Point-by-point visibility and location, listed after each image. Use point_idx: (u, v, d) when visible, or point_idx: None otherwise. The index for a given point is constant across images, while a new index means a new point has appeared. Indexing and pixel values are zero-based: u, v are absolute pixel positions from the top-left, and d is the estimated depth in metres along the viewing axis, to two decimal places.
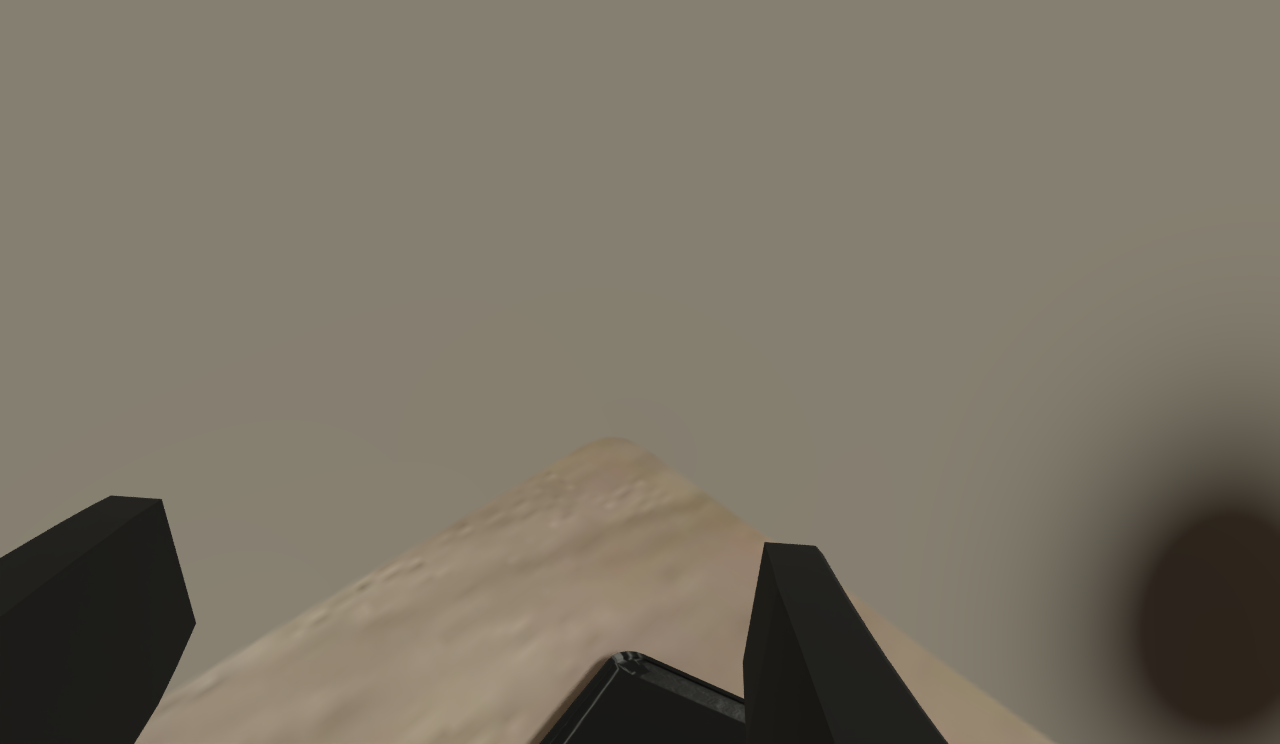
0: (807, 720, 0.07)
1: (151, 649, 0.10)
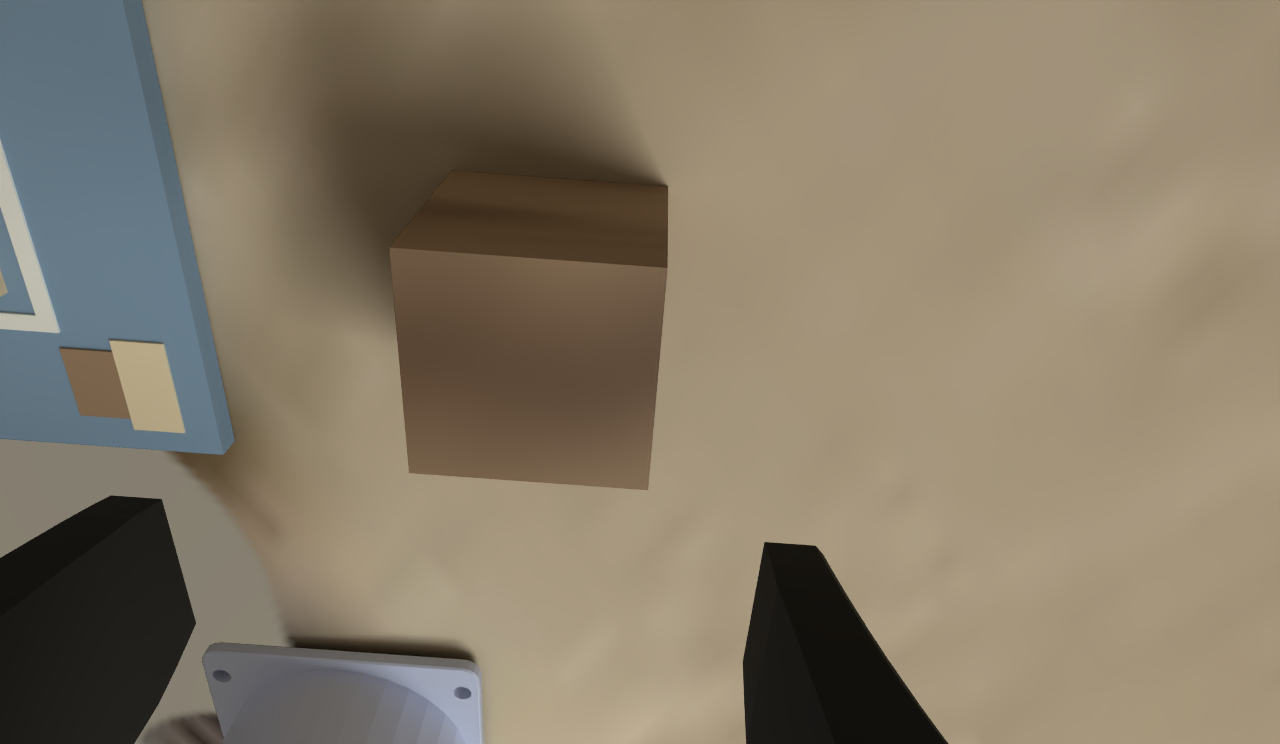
0: (808, 720, 0.07)
1: (151, 649, 0.10)
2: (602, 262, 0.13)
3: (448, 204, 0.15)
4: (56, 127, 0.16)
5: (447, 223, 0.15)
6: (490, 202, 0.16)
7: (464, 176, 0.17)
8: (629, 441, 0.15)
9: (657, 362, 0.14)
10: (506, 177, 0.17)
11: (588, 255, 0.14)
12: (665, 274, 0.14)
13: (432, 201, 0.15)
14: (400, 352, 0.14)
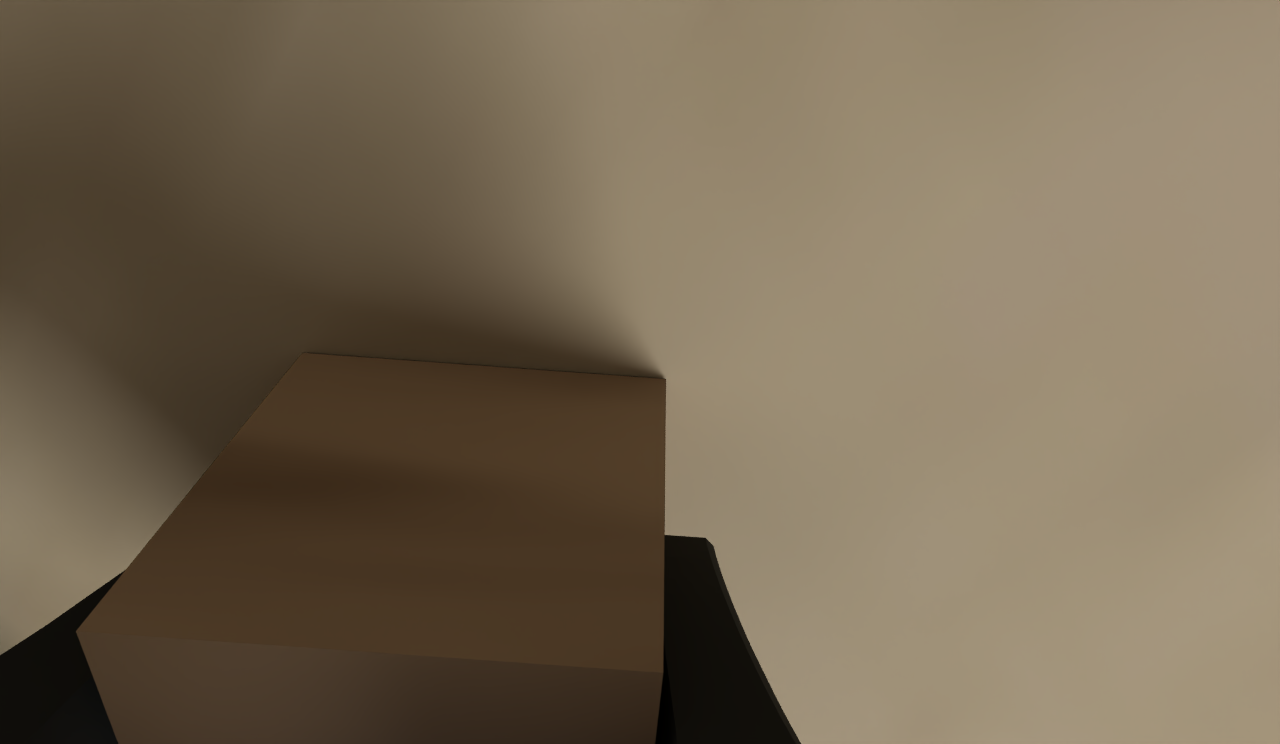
0: (665, 710, 0.07)
1: None
2: (526, 656, 0.06)
3: (260, 461, 0.08)
4: None
5: (235, 528, 0.07)
6: (341, 448, 0.09)
7: (317, 371, 0.10)
8: None
9: None
10: (390, 371, 0.10)
11: (501, 631, 0.07)
12: (659, 681, 0.06)
13: (232, 451, 0.08)
14: None
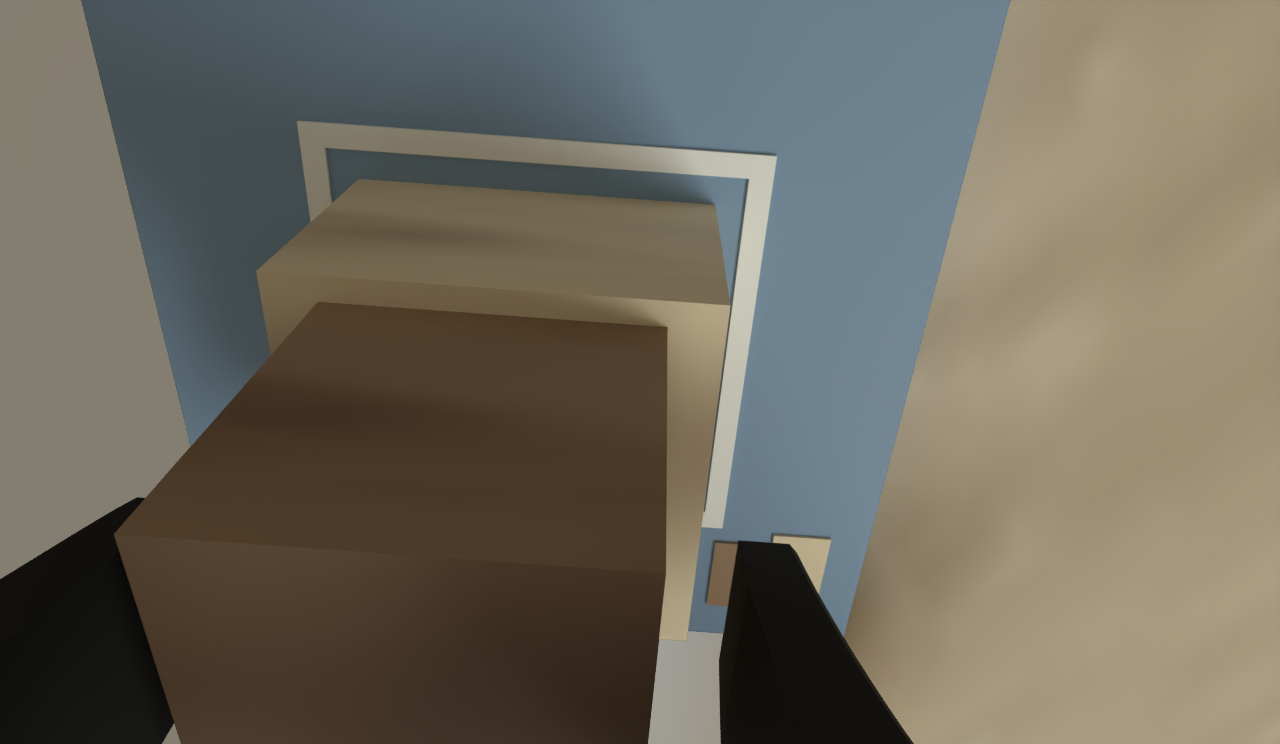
0: (773, 718, 0.07)
1: None
2: (537, 559, 0.07)
3: (280, 393, 0.09)
4: (817, 334, 0.15)
5: (260, 450, 0.08)
6: (358, 384, 0.09)
7: (332, 318, 0.10)
8: None
9: (647, 715, 0.08)
10: (402, 318, 0.10)
11: (513, 538, 0.07)
12: (662, 583, 0.07)
13: (254, 385, 0.09)
14: (169, 692, 0.08)
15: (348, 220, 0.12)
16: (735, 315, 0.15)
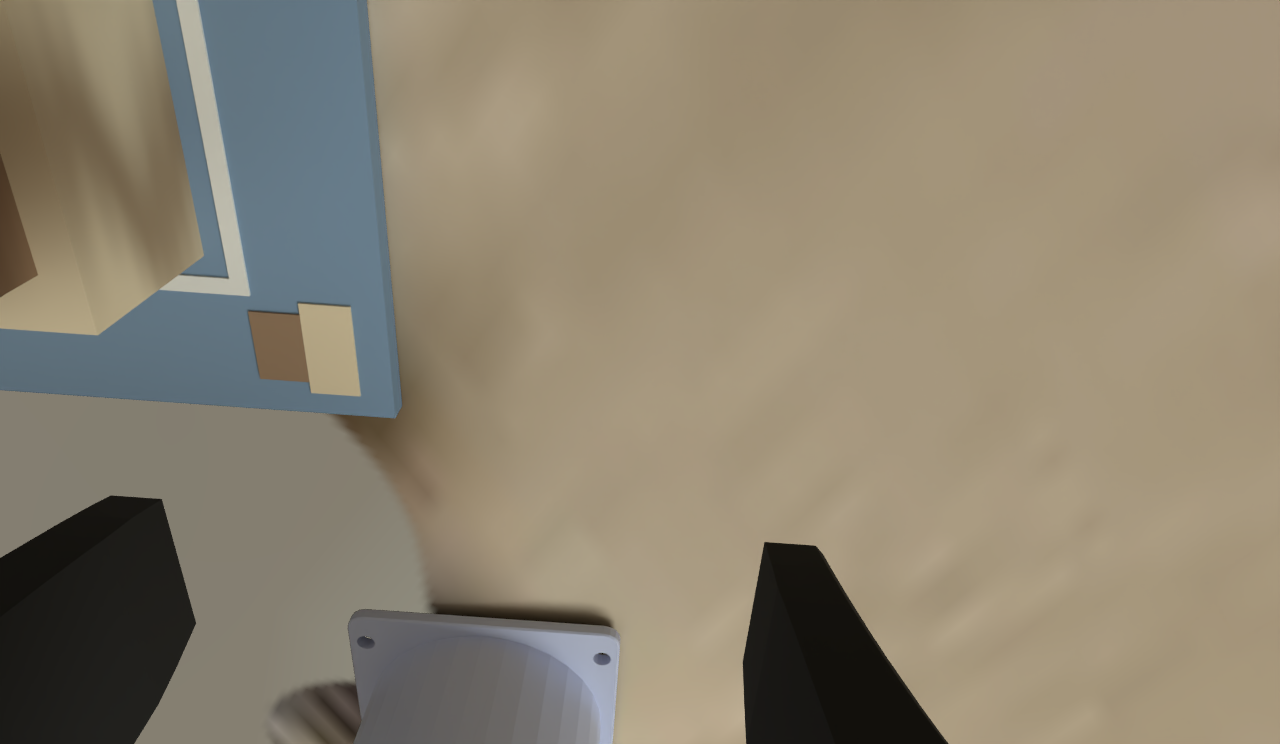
0: (807, 720, 0.07)
1: (151, 649, 0.10)
2: None
3: None
4: (272, 91, 0.17)
5: None
6: None
7: None
8: None
9: None
10: None
11: None
12: None
13: None
14: None
15: None
16: (193, 71, 0.17)
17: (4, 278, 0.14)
